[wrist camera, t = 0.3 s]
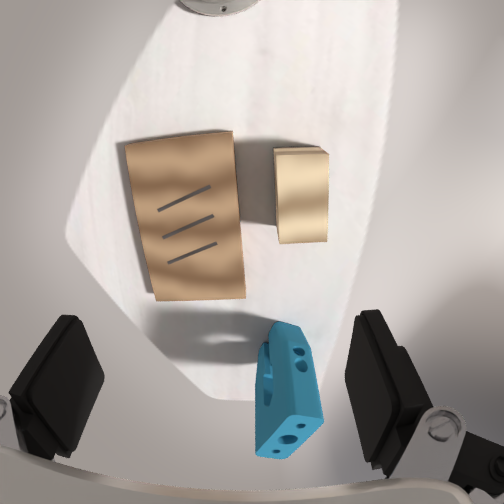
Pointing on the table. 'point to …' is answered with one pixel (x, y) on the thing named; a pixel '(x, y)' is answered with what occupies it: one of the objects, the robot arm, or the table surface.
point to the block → (285, 393)
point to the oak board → (189, 216)
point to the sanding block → (301, 194)
